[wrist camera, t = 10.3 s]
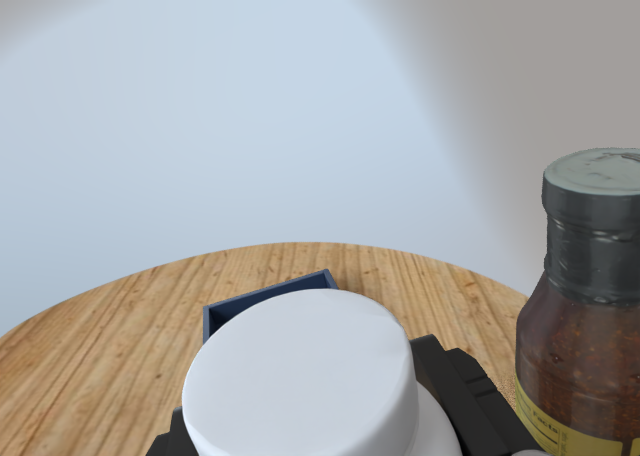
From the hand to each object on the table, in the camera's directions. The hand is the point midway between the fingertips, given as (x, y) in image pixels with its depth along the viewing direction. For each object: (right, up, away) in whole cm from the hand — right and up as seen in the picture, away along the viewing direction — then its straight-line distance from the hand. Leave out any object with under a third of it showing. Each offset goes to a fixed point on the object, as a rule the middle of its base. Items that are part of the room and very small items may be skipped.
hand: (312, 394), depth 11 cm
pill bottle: (+2, -6, 0) cm, 7 cm away
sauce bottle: (+14, -11, +11) cm, 21 cm away
